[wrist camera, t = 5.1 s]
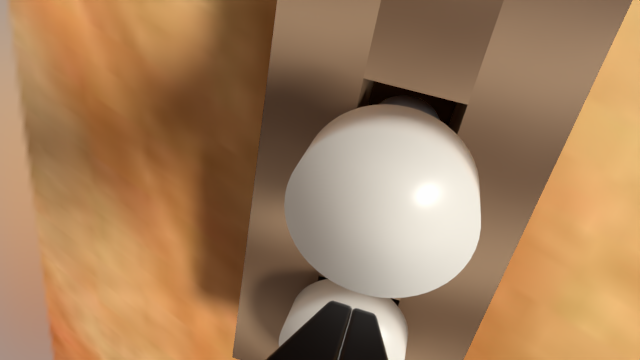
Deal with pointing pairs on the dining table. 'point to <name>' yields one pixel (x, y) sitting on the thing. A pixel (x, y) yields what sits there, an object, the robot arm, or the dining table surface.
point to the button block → (467, 122)
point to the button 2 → (386, 200)
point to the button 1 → (383, 308)
